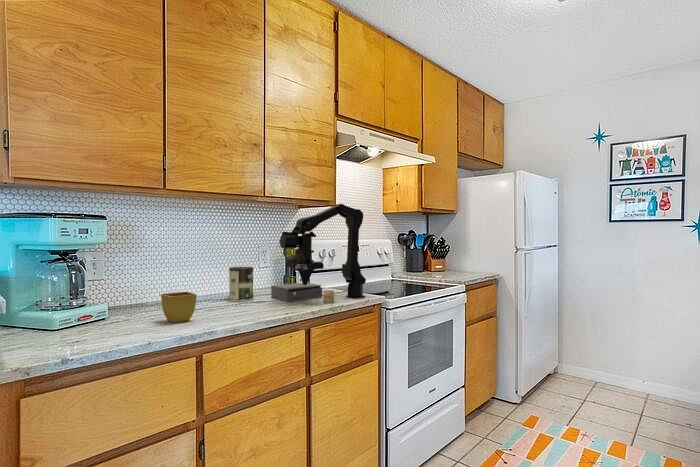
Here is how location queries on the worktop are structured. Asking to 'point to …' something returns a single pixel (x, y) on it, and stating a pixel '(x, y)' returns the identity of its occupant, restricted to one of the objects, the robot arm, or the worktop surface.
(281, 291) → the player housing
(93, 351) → the worktop surface
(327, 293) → the oak stand
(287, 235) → the robot arm
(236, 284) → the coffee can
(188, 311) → the flower pot
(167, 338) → the worktop surface
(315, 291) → the tray
